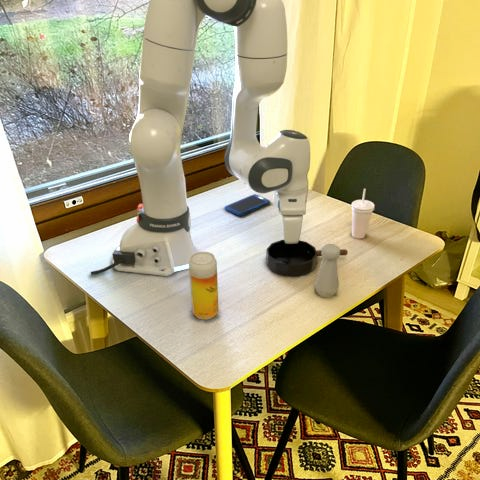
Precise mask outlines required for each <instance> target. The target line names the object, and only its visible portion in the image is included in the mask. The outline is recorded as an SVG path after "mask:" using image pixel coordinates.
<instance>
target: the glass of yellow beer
mask: <svg viewBox="0 0 480 480" xmlns="http://www.w3.org/2000/svg"><path fill="white" fill-rule="evenodd" d="M188 272H189V273H188V274H189V286H190V298H191V299H190V300H191V311H192V314H193V315H194V316H195V317H196V318H197V319H198V320H204V321H206V320H207V321H208V320H211V319H214V318H215V317H216V315H218V313H219V312H220V311H219V288H218V262H217V259H216V257H215V255H214V254H213V253H212V252H208V251H196V253H194V254H193V255H192V256H191V257H190V260H189V268H188Z"/></svg>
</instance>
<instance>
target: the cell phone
mask: <svg viewBox="0 0 480 480" xmlns="http://www.w3.org/2000/svg"><path fill="white" fill-rule="evenodd" d="M270 203H271V201H270V200H269V199H268V198H265V197H263V196H260V195H258V194H255V193H254V194H251V195H249V196H247V197H243V198H241V199H239V200H237V201H235V202H232V203H230V204H228V205H225V206H224V210H225V211H227V212H230V213H232V214H234V215H236V216H238V217H242V216H245V215H246V214H249V213H251V212H254V211H255V210H257V209H260V208H262V207H265V206H267V205H269V204H270Z"/></svg>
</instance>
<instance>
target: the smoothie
mask: <svg viewBox="0 0 480 480" xmlns="http://www.w3.org/2000/svg"><path fill="white" fill-rule="evenodd" d="M366 190H367V188H363V191H362V199H356V200H353V201H352V202H351V204H350V208H351V236H352V237H353V238H354V239H364V238H365V237H366V234H367V231H368V228H369V225H370V221H371V217H372V214H373V211H375V206H376V205H375V204H374V202H372V201H370V200H368V199H365V198H366Z"/></svg>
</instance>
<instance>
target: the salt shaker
mask: <svg viewBox="0 0 480 480" xmlns="http://www.w3.org/2000/svg"><path fill="white" fill-rule="evenodd" d="M340 249H341V248H340V247H339V246H338V245H337V244H334V243H326V244H325V245H323V246H322V247H321V250H322V251H321V255H322V256H321V257H322V260H321V263H320V267H319V270H318V273H317V275H316V278H315V282H314V289H315V292H316V294H317V295H318V296H319V297H320V298H326V299H330V298H332V297H334V296H335V295H336V293H337V292H338V291H339V288H340V287H339V286H340V283H339V282H340V281H339V271H338V258H339V257H340Z"/></svg>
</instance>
